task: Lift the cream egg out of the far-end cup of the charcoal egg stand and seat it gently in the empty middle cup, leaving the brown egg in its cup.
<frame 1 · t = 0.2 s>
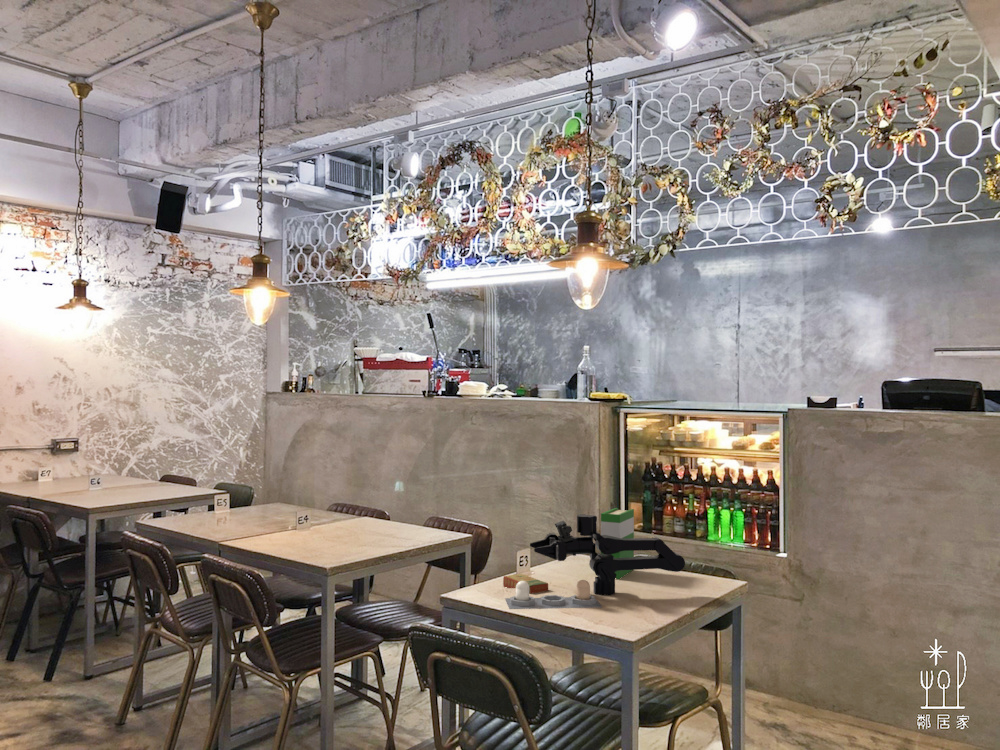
hand: (532, 547, 264), 17 cm above the table, tool horizontal, fingers open, 9 cm apart
cream egg: (522, 603, 252), point 1 cm above the table, touching egg stand
carton: (525, 591, 274), on the table
egg stand: (552, 605, 253), on the table
brown egg: (583, 602, 254), point 1 cm above the table, touching egg stand
hardback book: (617, 574, 301), on the table
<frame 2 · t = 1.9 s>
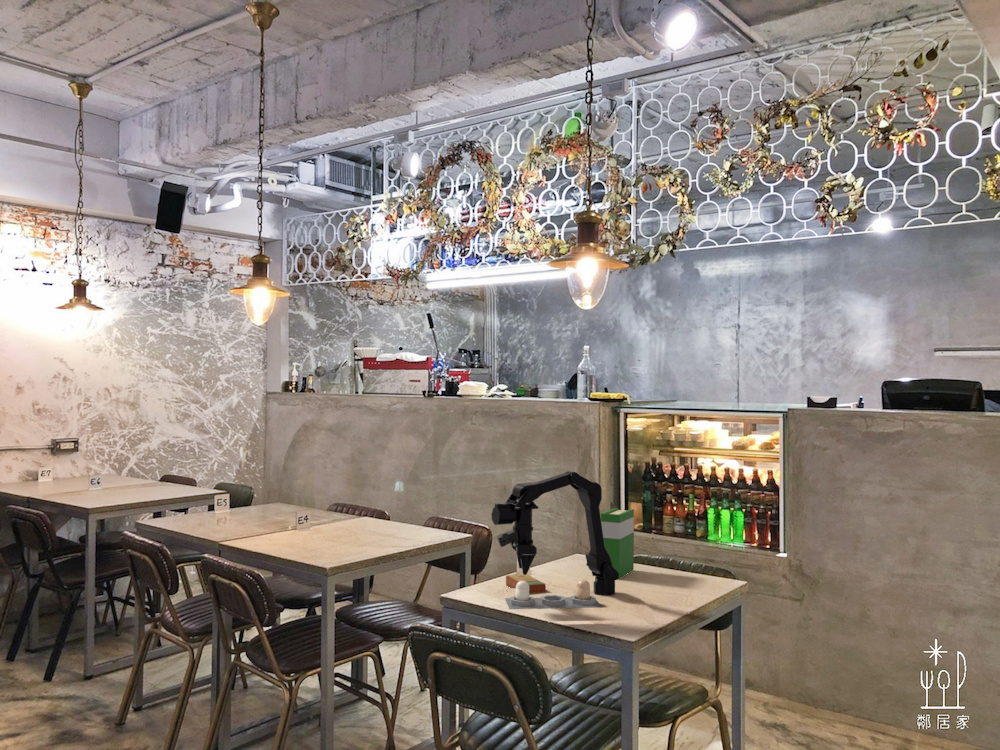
hand: (522, 571, 253), 11 cm above the table, tool pointing down, fingers open, 9 cm apart
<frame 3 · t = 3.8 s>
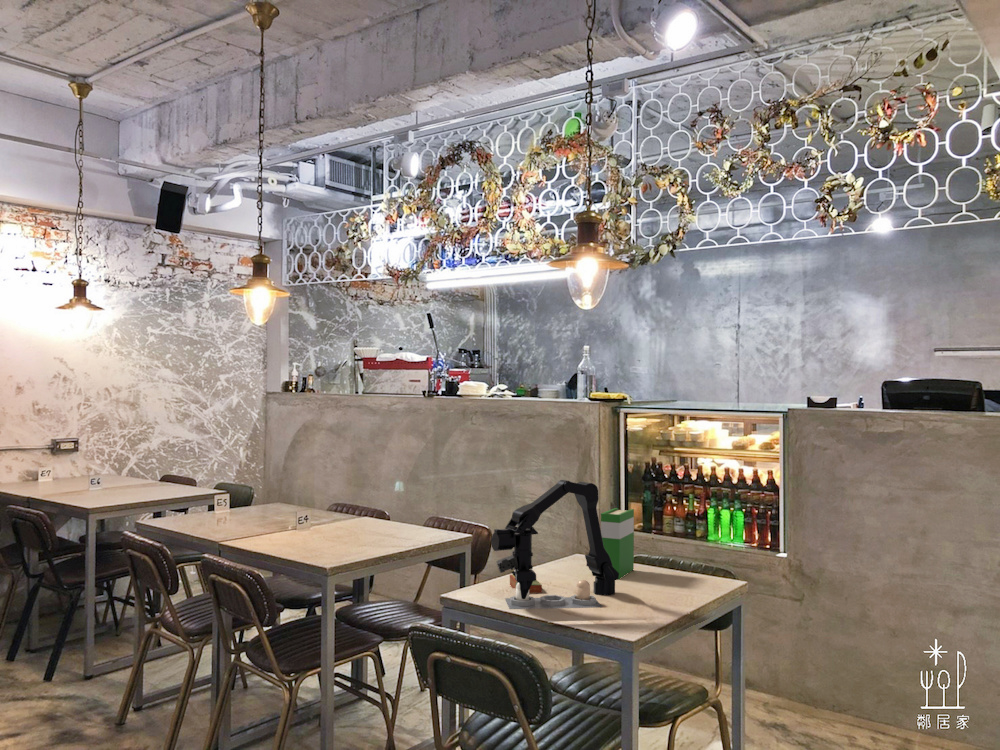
hand: (522, 596, 252), 3 cm above the table, tool pointing down, fingers closed on cream egg, 4 cm apart
cream egg: (522, 603, 252), point 1 cm above the table, touching egg stand, gripper
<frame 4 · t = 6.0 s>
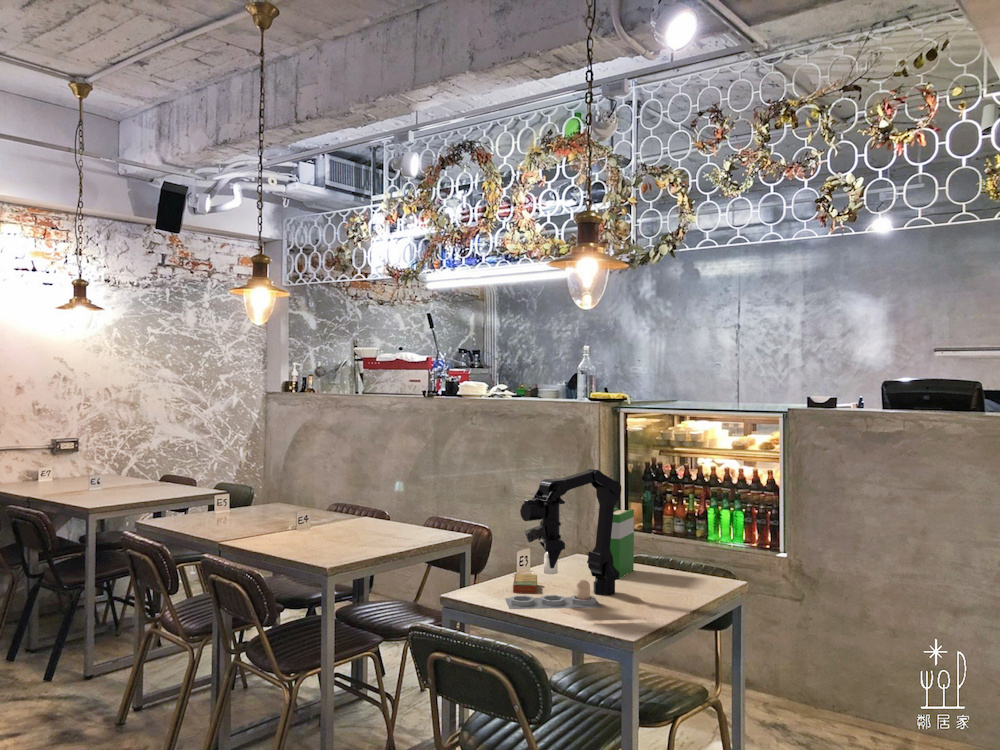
hand: (550, 566, 254), 13 cm above the table, tool pointing down, fingers closed on cream egg, 4 cm apart
cream egg: (550, 572, 254), point 11 cm above the table, touching gripper
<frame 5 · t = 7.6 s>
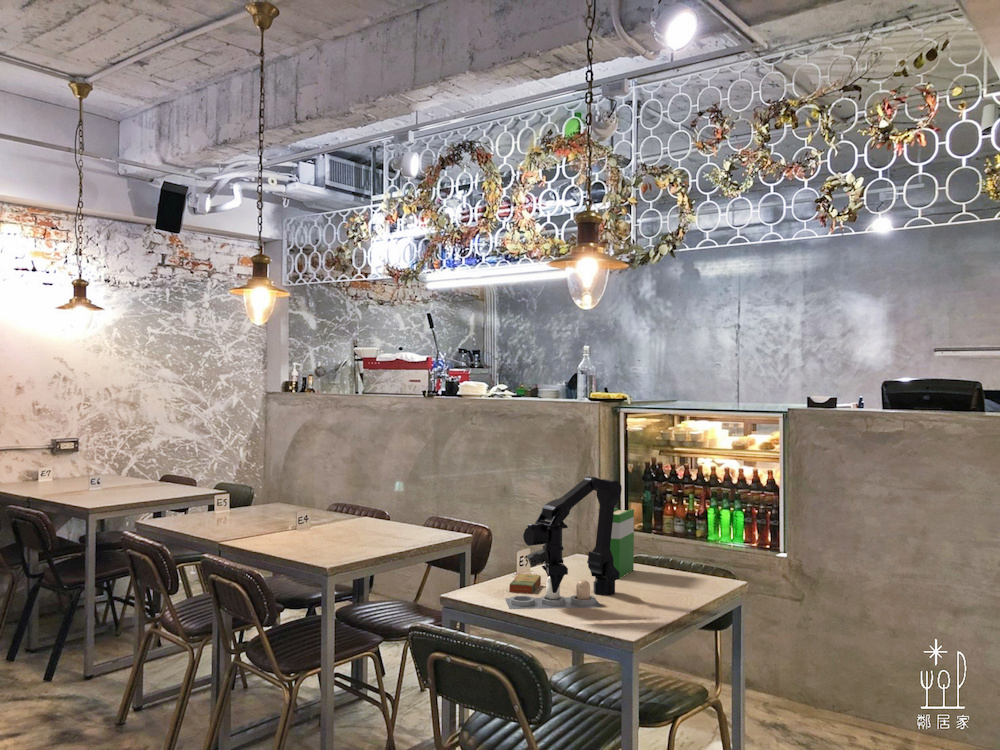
hand: (553, 590, 253), 5 cm above the table, tool pointing down, fingers closed on cream egg, 4 cm apart
cream egg: (552, 597, 253), point 3 cm above the table, touching gripper
when the fingers open (4 cm above the table, at t = 8.6 s): cream egg drops 1 cm, resting on egg stand.
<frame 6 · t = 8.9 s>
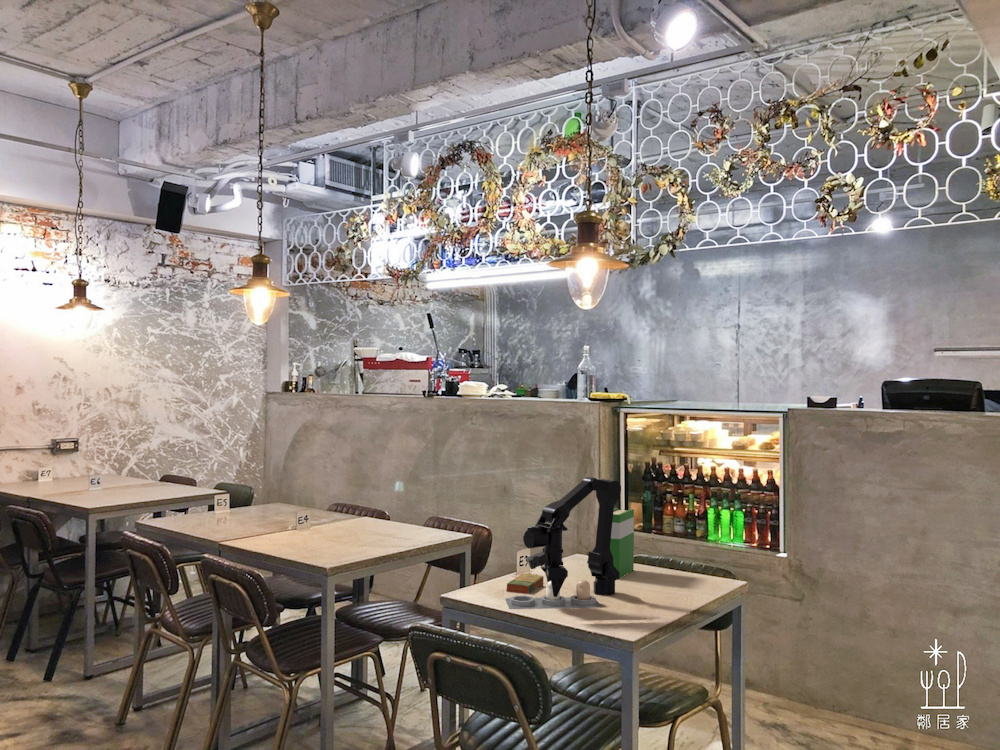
hand: (552, 593, 253), 4 cm above the table, tool pointing down, fingers open, 8 cm apart
cream egg: (552, 602, 253), point 1 cm above the table, touching egg stand
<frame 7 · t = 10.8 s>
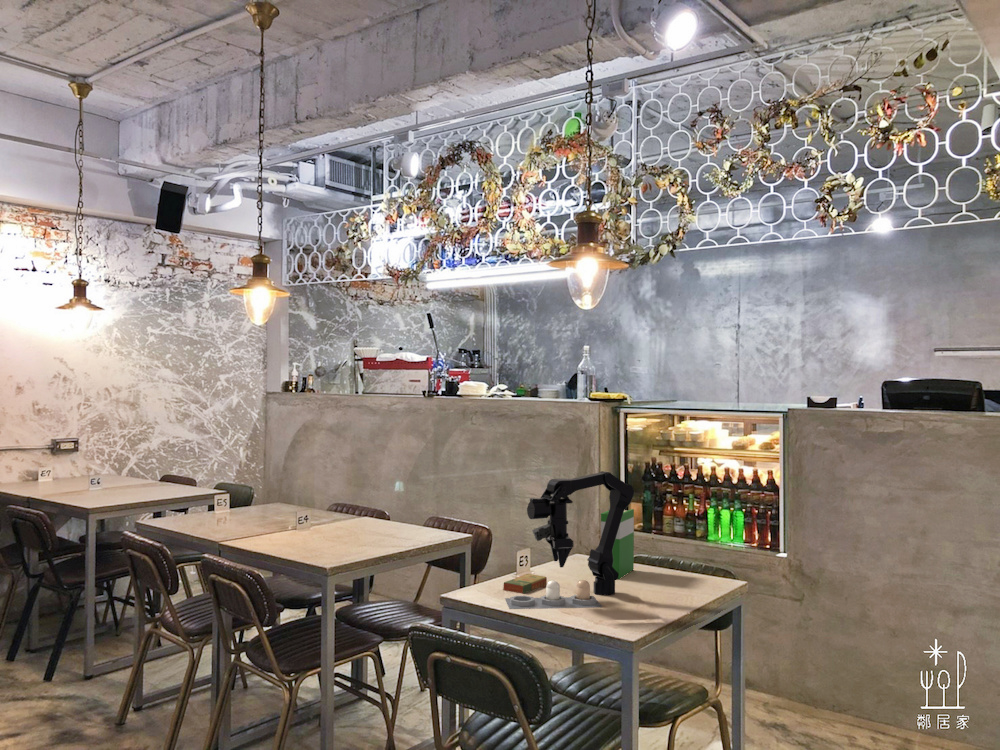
hand: (558, 564, 260), 12 cm above the table, tool pointing down, fingers open, 9 cm apart
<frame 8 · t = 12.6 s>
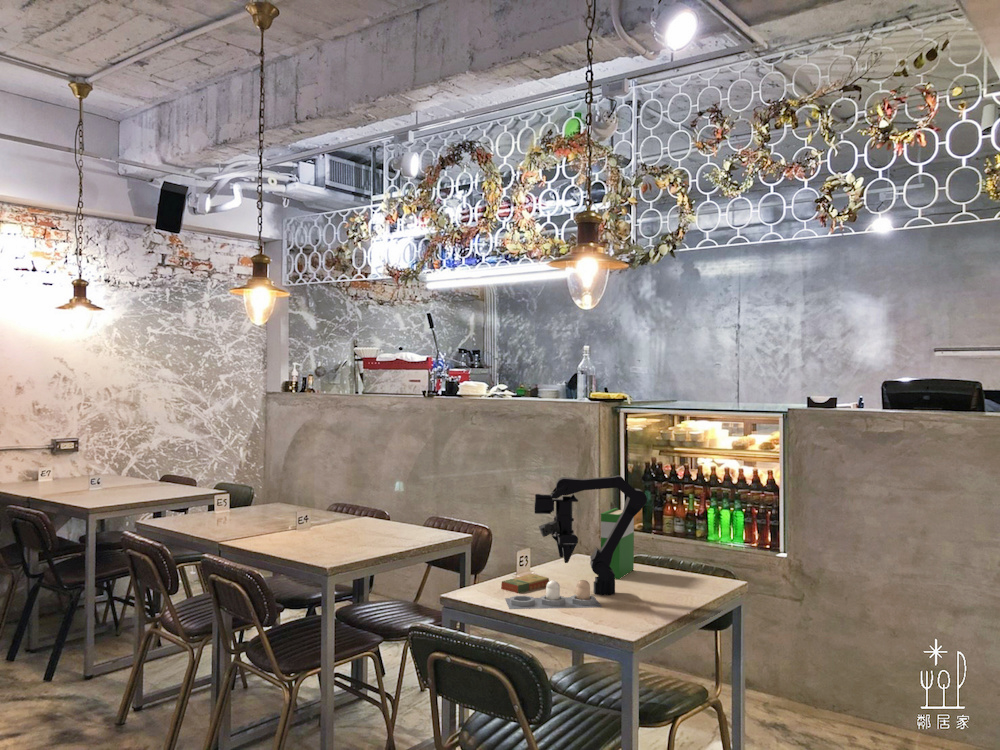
hand: (563, 560, 267), 12 cm above the table, tool pointing down, fingers open, 9 cm apart
at the end: cream egg 0.0 cm off-centre on the egg stand, point 1.0 cm above the egg stand's base; cream egg tilted 0°; brown egg moved 0.0 cm from its start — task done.
